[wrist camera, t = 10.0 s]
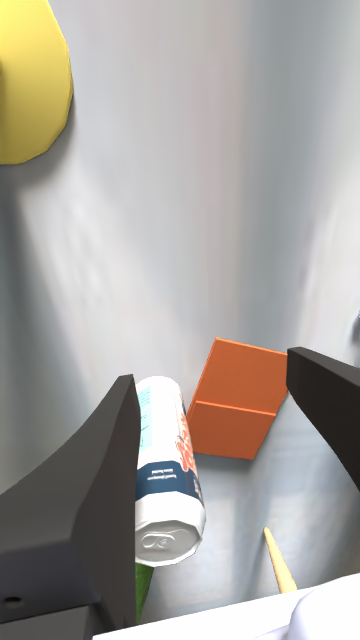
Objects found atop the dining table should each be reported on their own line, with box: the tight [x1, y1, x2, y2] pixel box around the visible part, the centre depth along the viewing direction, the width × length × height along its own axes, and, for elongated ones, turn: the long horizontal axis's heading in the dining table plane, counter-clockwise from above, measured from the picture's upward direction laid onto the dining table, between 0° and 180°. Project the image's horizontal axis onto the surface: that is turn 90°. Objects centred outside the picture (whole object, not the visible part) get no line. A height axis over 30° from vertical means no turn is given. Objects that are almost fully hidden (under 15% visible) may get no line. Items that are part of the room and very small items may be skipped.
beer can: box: [135, 376, 206, 567], centre depth 19 cm, size 5×5×12 cm
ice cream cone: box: [264, 527, 298, 594], centre depth 27 cm, size 6×6×15 cm
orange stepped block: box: [186, 338, 288, 460], centre depth 25 cm, size 9×13×1 cm
